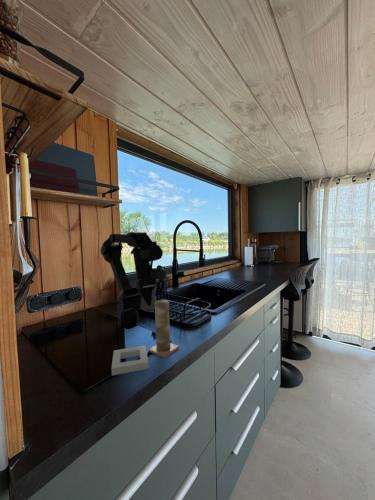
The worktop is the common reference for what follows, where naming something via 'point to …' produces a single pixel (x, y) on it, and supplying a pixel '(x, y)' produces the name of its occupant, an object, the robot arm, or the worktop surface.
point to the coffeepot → (144, 304)
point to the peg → (162, 325)
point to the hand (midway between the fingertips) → (148, 304)
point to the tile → (163, 353)
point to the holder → (131, 365)
